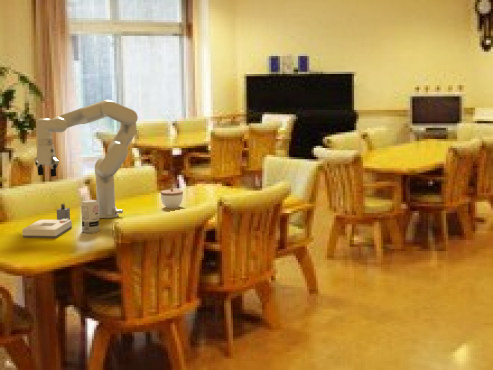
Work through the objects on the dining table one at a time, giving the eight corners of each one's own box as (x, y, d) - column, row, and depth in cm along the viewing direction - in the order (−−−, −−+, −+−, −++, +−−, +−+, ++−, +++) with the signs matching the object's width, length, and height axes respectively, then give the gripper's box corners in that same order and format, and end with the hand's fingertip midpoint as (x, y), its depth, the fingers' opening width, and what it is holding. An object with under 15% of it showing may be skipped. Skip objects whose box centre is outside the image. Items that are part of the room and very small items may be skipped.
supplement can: (83, 229, 355) (82, 199, 353) (100, 229, 356) (99, 199, 353) (81, 233, 347) (79, 202, 345) (98, 233, 348) (97, 202, 345)
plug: (70, 223, 370) (69, 203, 369) (66, 225, 365) (65, 205, 364) (60, 223, 371) (59, 203, 369) (57, 225, 366) (56, 205, 364)
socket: (71, 227, 360) (71, 218, 359) (55, 238, 338) (55, 228, 337) (40, 227, 361) (40, 217, 360) (22, 237, 340) (22, 227, 339)
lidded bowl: (182, 209, 405) (181, 189, 403) (159, 209, 405) (159, 189, 404) (184, 205, 418) (183, 186, 416) (162, 205, 418) (162, 186, 416)
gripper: (62, 142, 368) (64, 175, 371) (39, 141, 378) (41, 173, 381) (50, 144, 362) (53, 177, 365) (27, 142, 372) (30, 175, 375)
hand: (47, 175), depth 373 cm, fingers open, 9 cm apart
